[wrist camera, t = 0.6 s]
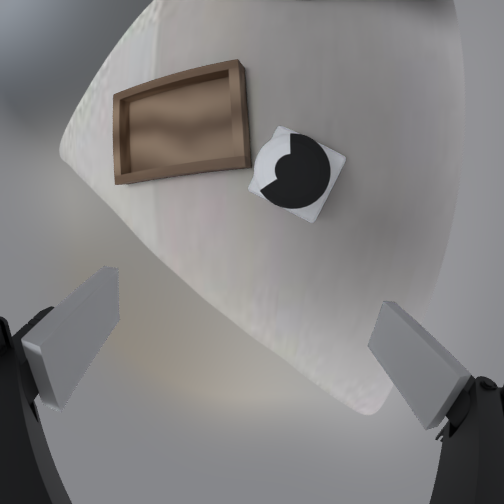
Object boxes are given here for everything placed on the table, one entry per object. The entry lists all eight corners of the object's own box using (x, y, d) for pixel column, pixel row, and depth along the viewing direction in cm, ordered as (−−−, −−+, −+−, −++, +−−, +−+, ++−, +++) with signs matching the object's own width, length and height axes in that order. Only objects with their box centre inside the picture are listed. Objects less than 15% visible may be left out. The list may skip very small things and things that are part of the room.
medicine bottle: (341, 163, 30) (353, 150, 19) (314, 216, 33) (311, 233, 21) (286, 136, 31) (268, 110, 20) (260, 189, 33) (230, 191, 22)
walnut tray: (125, 98, 34) (113, 94, 32) (244, 68, 30) (237, 59, 27) (128, 184, 37) (115, 184, 35) (251, 167, 33) (245, 166, 30)
